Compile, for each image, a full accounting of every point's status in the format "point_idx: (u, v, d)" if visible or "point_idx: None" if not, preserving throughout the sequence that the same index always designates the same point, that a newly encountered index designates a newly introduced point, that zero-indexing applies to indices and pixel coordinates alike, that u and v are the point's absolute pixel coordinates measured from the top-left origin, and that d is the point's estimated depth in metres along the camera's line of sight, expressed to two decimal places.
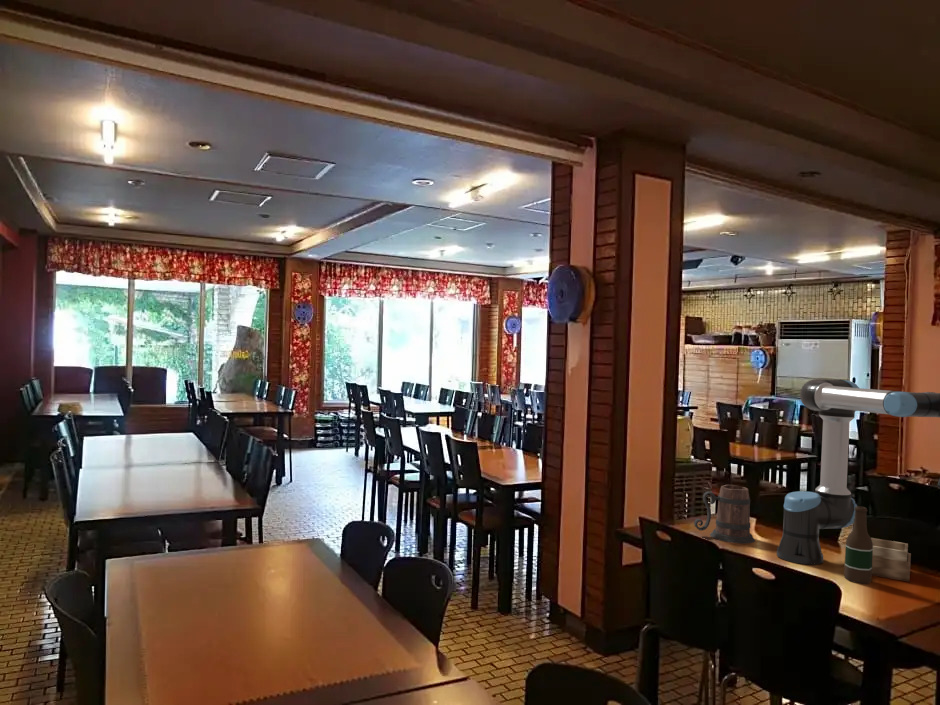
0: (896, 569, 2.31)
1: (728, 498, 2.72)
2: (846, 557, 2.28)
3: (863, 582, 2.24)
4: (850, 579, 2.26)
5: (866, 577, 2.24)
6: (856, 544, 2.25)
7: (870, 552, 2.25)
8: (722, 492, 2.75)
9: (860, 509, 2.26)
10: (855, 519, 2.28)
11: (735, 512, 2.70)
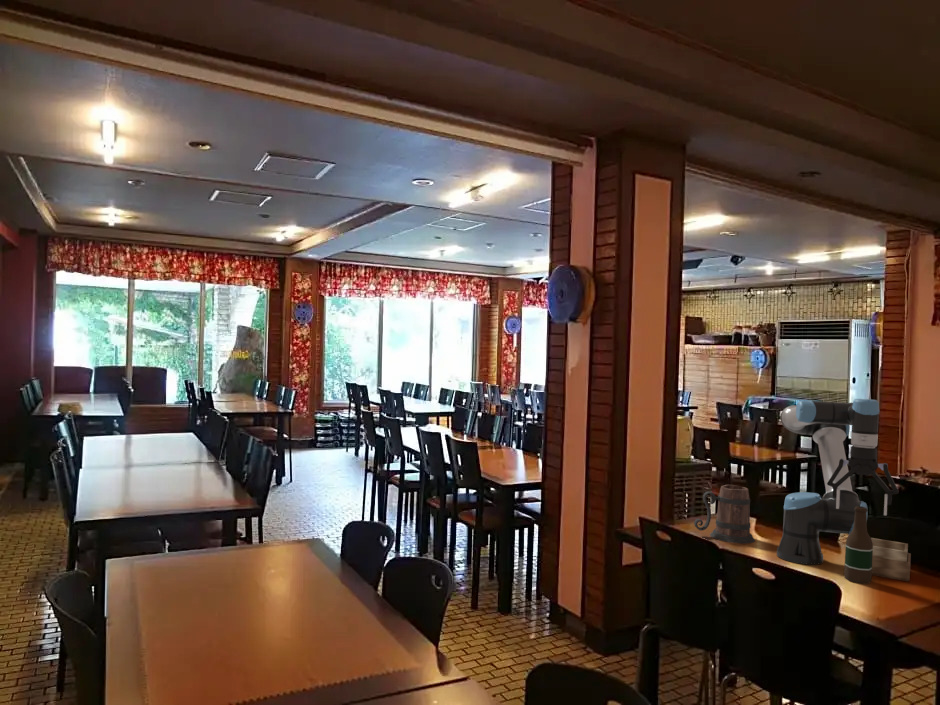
0: (896, 569, 2.31)
1: (728, 498, 2.72)
2: (846, 557, 2.28)
3: (863, 582, 2.24)
4: (850, 579, 2.26)
5: (866, 577, 2.24)
6: (856, 544, 2.25)
7: (870, 552, 2.25)
8: (722, 492, 2.75)
9: (860, 509, 2.26)
10: (855, 519, 2.28)
11: (735, 512, 2.70)
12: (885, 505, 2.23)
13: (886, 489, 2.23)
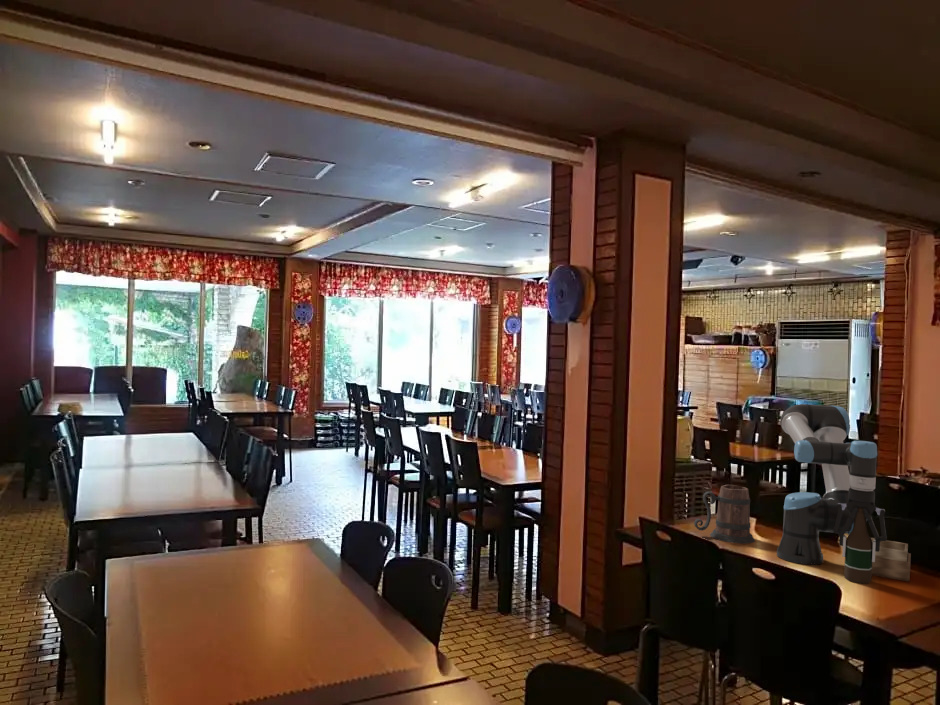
0: (896, 569, 2.31)
1: (728, 498, 2.72)
2: (846, 557, 2.28)
3: (863, 582, 2.24)
4: (850, 579, 2.26)
5: (866, 577, 2.24)
6: (856, 544, 2.25)
7: (870, 552, 2.25)
8: (722, 492, 2.75)
9: (860, 509, 2.26)
10: (855, 519, 2.28)
11: (735, 512, 2.70)
12: (873, 552, 2.24)
13: (876, 535, 2.24)
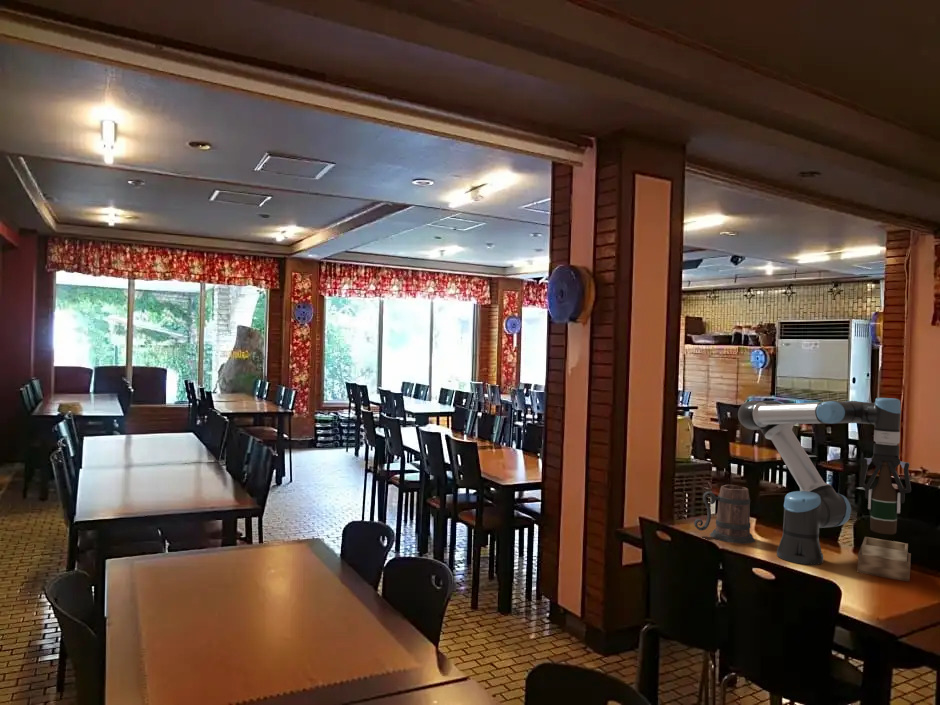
0: (896, 569, 2.31)
1: (728, 498, 2.72)
2: (872, 509, 2.38)
3: (888, 532, 2.33)
4: (875, 530, 2.35)
5: (891, 528, 2.33)
6: (881, 496, 2.34)
7: (895, 504, 2.34)
8: (722, 492, 2.75)
9: (885, 463, 2.35)
10: (880, 473, 2.37)
11: (735, 512, 2.70)
12: (898, 503, 2.33)
13: (900, 487, 2.33)
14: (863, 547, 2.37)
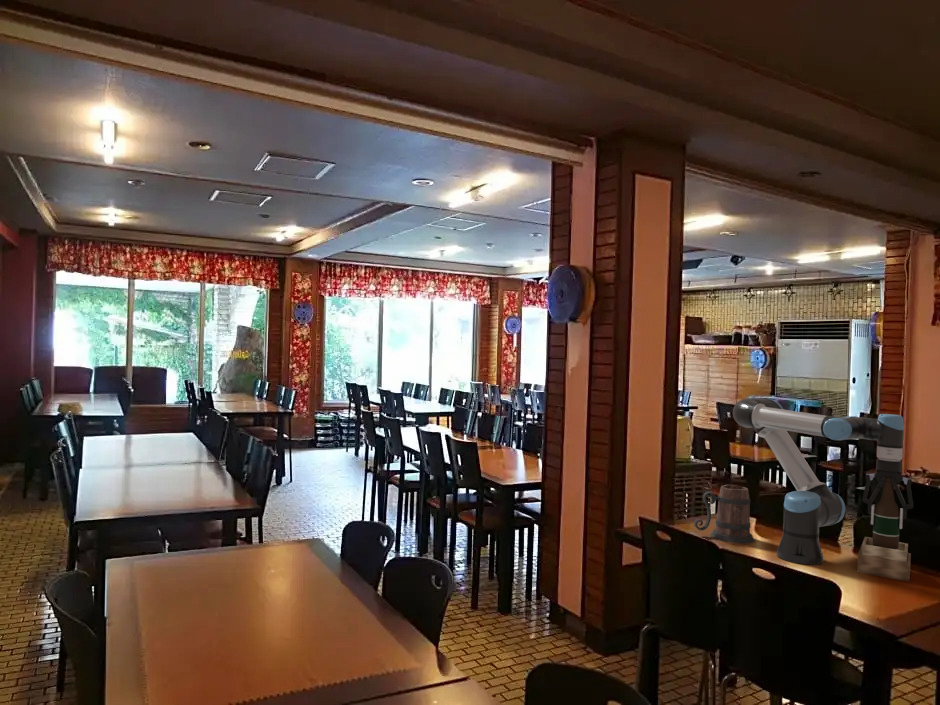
0: (896, 569, 2.31)
1: (728, 498, 2.72)
2: (874, 525, 2.39)
3: (891, 548, 2.35)
4: (878, 545, 2.37)
5: (894, 543, 2.35)
6: (884, 512, 2.36)
7: (898, 520, 2.36)
8: (722, 492, 2.75)
9: (888, 479, 2.37)
10: (883, 488, 2.39)
11: (735, 512, 2.70)
12: (901, 519, 2.35)
13: (903, 503, 2.35)
14: (863, 547, 2.37)
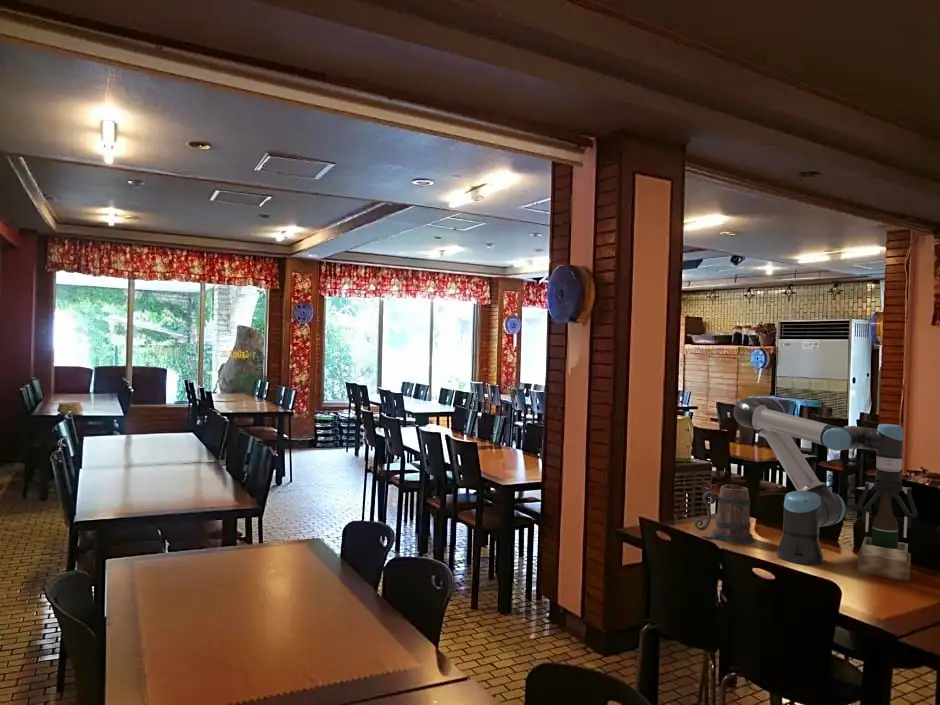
0: (896, 569, 2.31)
1: (728, 498, 2.72)
2: (873, 538, 2.40)
3: None
4: None
5: None
6: (882, 525, 2.36)
7: (896, 533, 2.36)
8: (722, 492, 2.75)
9: (885, 492, 2.38)
10: (880, 502, 2.39)
11: (735, 512, 2.70)
12: (905, 528, 2.35)
13: (906, 512, 2.35)
14: (863, 547, 2.37)
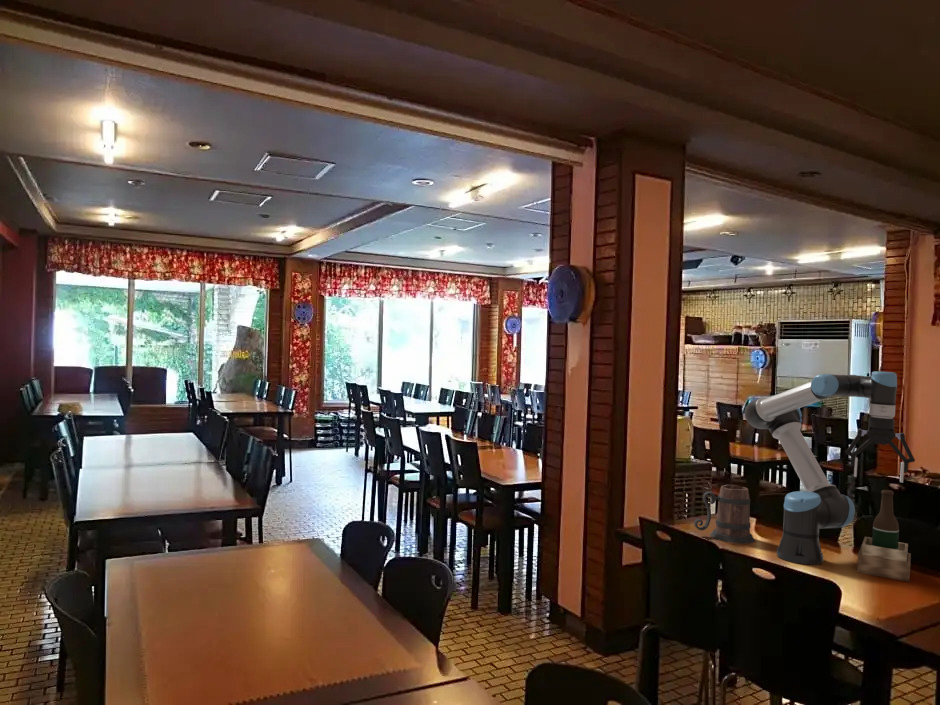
0: (896, 569, 2.31)
1: (728, 498, 2.72)
2: (873, 538, 2.40)
3: None
4: None
5: None
6: (883, 525, 2.36)
7: (897, 533, 2.36)
8: (722, 492, 2.75)
9: (887, 492, 2.37)
10: (882, 502, 2.39)
11: (735, 512, 2.70)
12: (902, 473, 2.33)
13: (903, 457, 2.33)
14: (863, 547, 2.37)
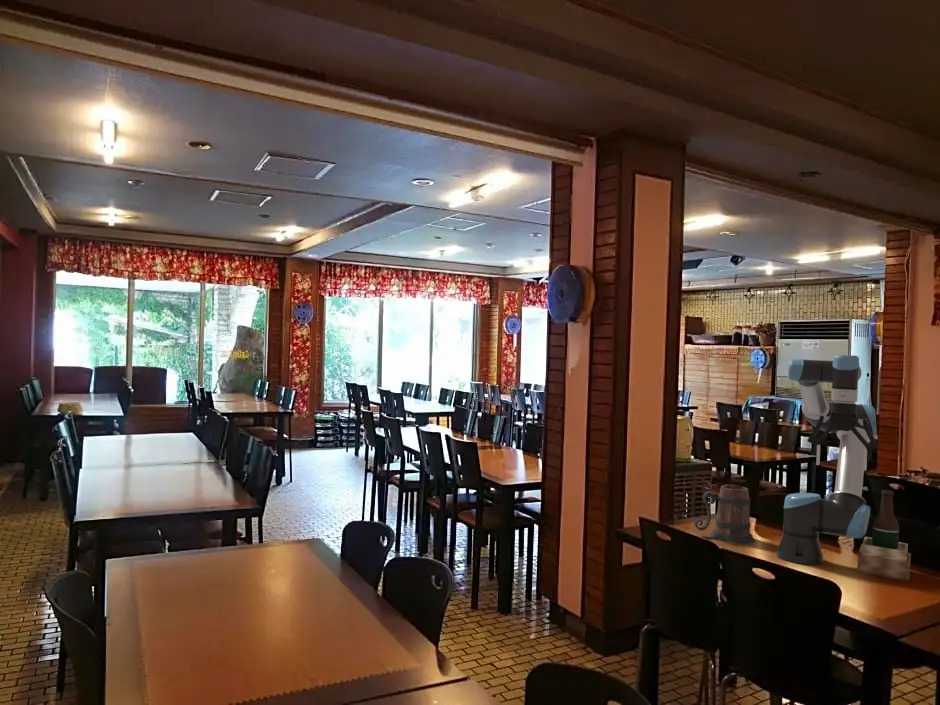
0: (896, 569, 2.31)
1: (728, 498, 2.72)
2: (873, 538, 2.40)
3: None
4: None
5: None
6: (883, 525, 2.36)
7: (897, 533, 2.36)
8: (722, 492, 2.75)
9: (887, 492, 2.37)
10: (882, 502, 2.39)
11: (735, 512, 2.70)
12: (865, 460, 2.23)
13: (866, 444, 2.23)
14: (863, 547, 2.37)
